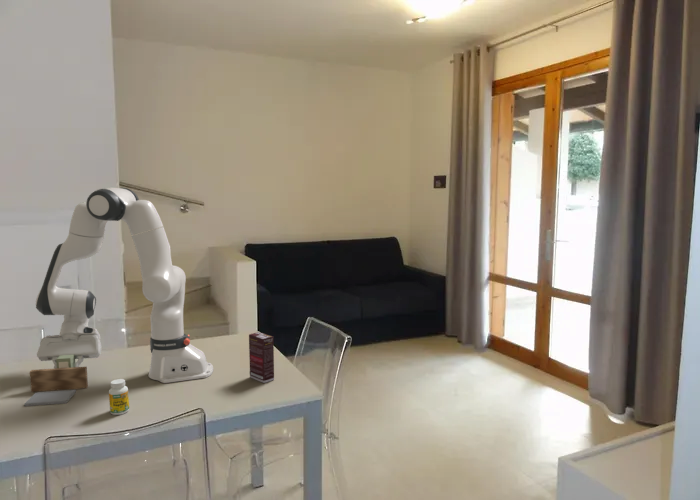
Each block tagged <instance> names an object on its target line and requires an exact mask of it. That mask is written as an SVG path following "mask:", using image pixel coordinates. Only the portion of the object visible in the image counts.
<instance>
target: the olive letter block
mask: <svg viewBox="0 0 700 500" xmlns="http://www.w3.org/2000/svg"><path fill="white" fill-rule="evenodd" d="M74 363H76V359H75V356H74V355H60V356H59V357H58V358H57V359H56V364H57V368H72V366H73V364H74Z"/></svg>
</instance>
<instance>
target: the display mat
mask: <svg viewBox="0 0 700 500" xmlns="http://www.w3.org/2000/svg"><path fill="white" fill-rule="evenodd" d="M76 392H77V389H67V390H52V391H37V392H35V393H34V394H33V395H31V396H30V398H28V399H27V400H26V401H25V402H24V403H23V404H24V405H23V406H24V407H31V406H32V407H33V406H45V405H57V404H58V405H59V404H67V403H68V402H69V401H70V400H71V398H72V397H73V396H74V394H75V393H76Z"/></svg>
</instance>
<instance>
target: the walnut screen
mask: <svg viewBox="0 0 700 500" xmlns="http://www.w3.org/2000/svg"><path fill="white" fill-rule="evenodd" d="M29 379H30V390H31V393H34V392H35V393H36V392H47V391H62V390H77V389H88V387H89V382H88V367H87V366H79V367H72V368H55V369H54V368H42V369H31V370H30V371H29Z"/></svg>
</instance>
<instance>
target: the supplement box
mask: <svg viewBox="0 0 700 500" xmlns="http://www.w3.org/2000/svg"><path fill="white" fill-rule="evenodd" d="M274 342H275V341H274V336H272V335H269V334H266V333H263V332H260V331H258V332H254V333H250V334H248V351H249V353H248V354H249V356H248V357H249V378H251V379H253V380H256V381H257V382H261V383H263V384H266V383H270V382H273V381H275V358H274V357H275V356H274V354H275V353H274V351H275V349H274V347H275V346H274Z"/></svg>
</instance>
